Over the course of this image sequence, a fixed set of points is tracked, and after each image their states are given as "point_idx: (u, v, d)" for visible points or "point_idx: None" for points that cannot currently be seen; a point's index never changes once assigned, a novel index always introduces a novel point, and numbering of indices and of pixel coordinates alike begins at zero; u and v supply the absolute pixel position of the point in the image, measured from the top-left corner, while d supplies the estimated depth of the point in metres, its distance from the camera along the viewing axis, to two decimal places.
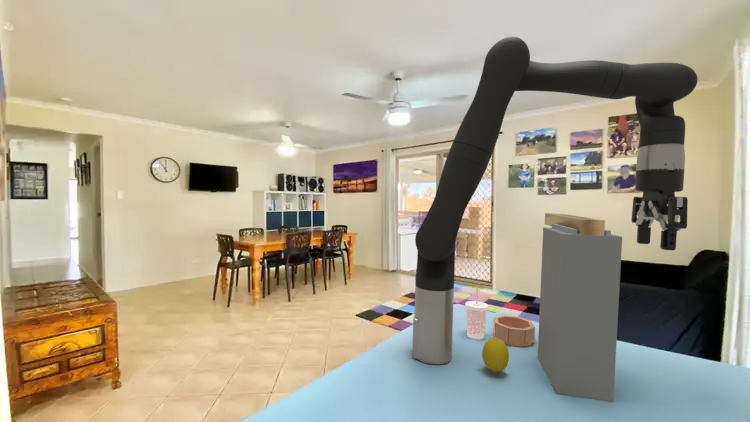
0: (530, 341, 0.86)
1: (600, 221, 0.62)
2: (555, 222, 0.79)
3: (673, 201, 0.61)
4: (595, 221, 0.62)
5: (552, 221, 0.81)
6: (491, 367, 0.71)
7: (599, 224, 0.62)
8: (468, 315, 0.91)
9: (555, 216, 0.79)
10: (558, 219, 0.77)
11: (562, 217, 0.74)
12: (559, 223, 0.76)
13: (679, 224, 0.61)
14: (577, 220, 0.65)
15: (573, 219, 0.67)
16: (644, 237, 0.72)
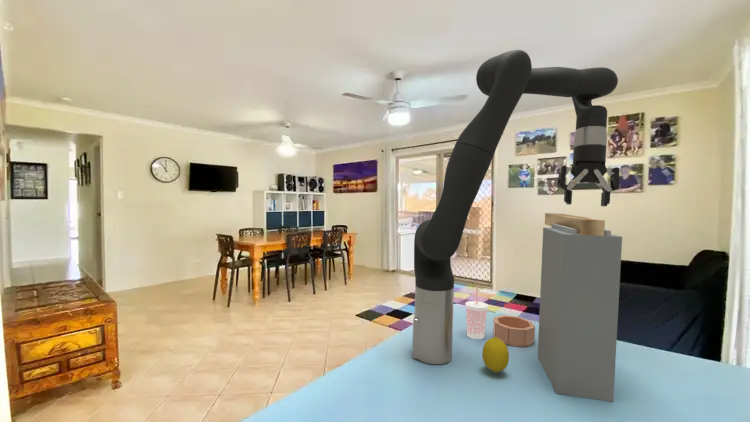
0: (530, 341, 0.86)
1: (600, 221, 0.62)
2: (555, 222, 0.79)
3: (618, 170, 0.86)
4: (595, 221, 0.62)
5: (552, 221, 0.81)
6: (491, 367, 0.71)
7: (599, 224, 0.62)
8: (468, 315, 0.91)
9: (555, 216, 0.79)
10: (558, 219, 0.77)
11: (562, 217, 0.74)
12: (559, 223, 0.76)
13: None
14: (577, 220, 0.65)
15: (573, 219, 0.67)
16: None
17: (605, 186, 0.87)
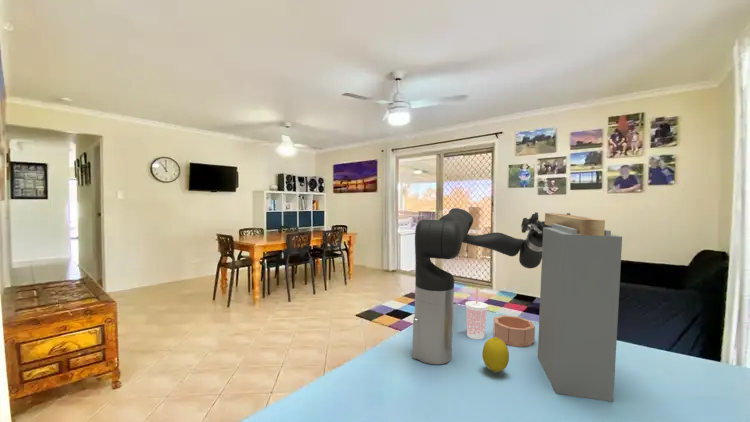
0: (530, 341, 0.86)
1: (600, 221, 0.62)
2: (555, 222, 0.79)
3: None
4: (595, 221, 0.62)
5: (552, 221, 0.81)
6: (491, 367, 0.71)
7: (599, 224, 0.62)
8: (468, 315, 0.91)
9: (555, 216, 0.79)
10: (558, 219, 0.77)
11: (562, 217, 0.74)
12: (559, 223, 0.76)
13: None
14: (577, 220, 0.65)
15: (573, 219, 0.67)
16: None
17: None
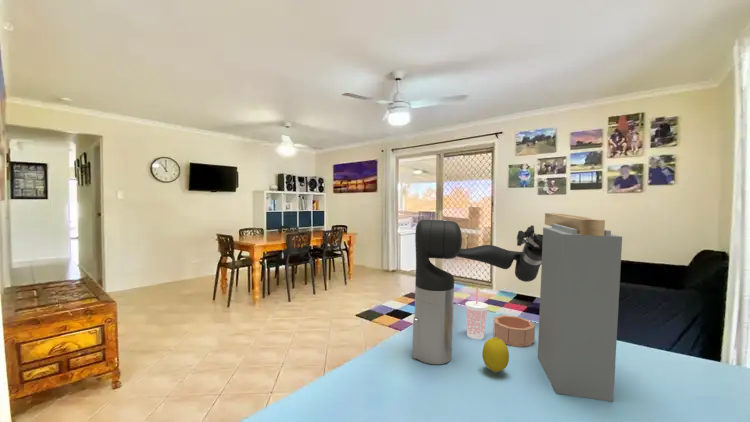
0: (530, 341, 0.86)
1: (600, 221, 0.62)
2: (555, 222, 0.79)
3: None
4: (595, 221, 0.62)
5: (552, 221, 0.81)
6: (491, 367, 0.71)
7: (599, 224, 0.62)
8: (468, 315, 0.91)
9: (555, 216, 0.79)
10: (558, 219, 0.77)
11: (562, 217, 0.74)
12: (559, 223, 0.76)
13: None
14: (577, 220, 0.65)
15: (573, 219, 0.67)
16: None
17: None
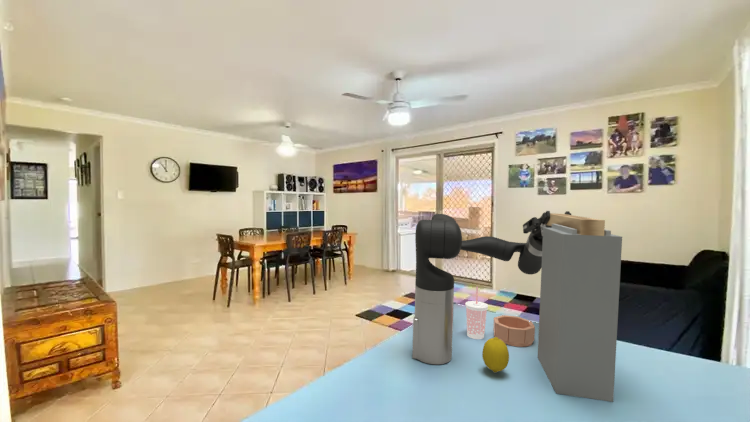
0: (530, 341, 0.86)
1: (600, 221, 0.62)
2: (555, 222, 0.79)
3: None
4: (595, 221, 0.62)
5: (552, 221, 0.81)
6: (491, 367, 0.71)
7: (599, 224, 0.62)
8: (468, 315, 0.91)
9: (555, 216, 0.79)
10: (558, 219, 0.77)
11: (562, 217, 0.74)
12: (559, 223, 0.76)
13: None
14: (577, 220, 0.65)
15: (573, 219, 0.67)
16: None
17: None
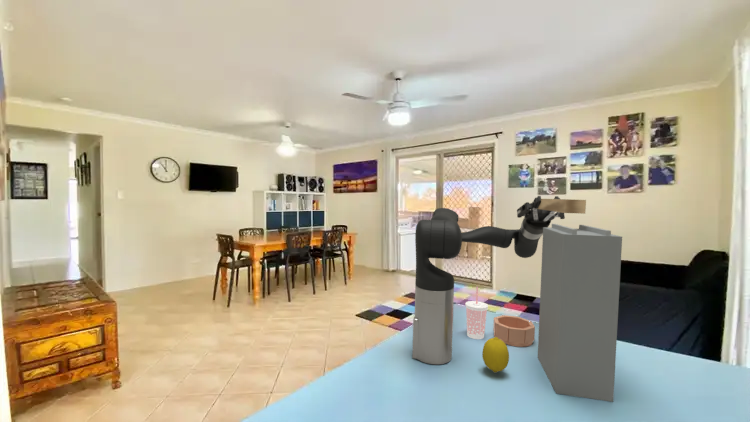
0: (530, 341, 0.86)
1: (582, 201, 0.71)
2: (545, 205, 0.88)
3: None
4: (577, 201, 0.72)
5: (542, 205, 0.91)
6: (491, 367, 0.71)
7: (581, 203, 0.71)
8: (468, 315, 0.91)
9: (545, 200, 0.88)
10: (547, 202, 0.86)
11: (550, 200, 0.83)
12: (548, 205, 0.85)
13: None
14: (562, 200, 0.74)
15: (559, 200, 0.76)
16: None
17: None
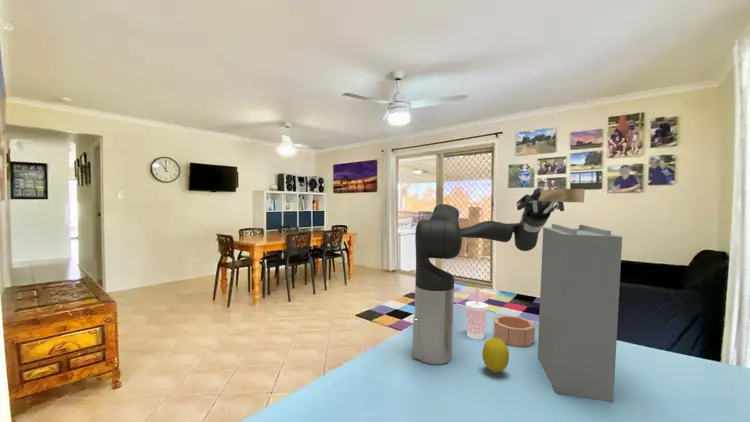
0: (530, 341, 0.86)
1: (580, 190, 0.72)
2: (544, 196, 0.89)
3: None
4: (576, 190, 0.72)
5: (542, 196, 0.91)
6: (491, 367, 0.71)
7: (580, 192, 0.72)
8: (468, 315, 0.91)
9: (544, 191, 0.89)
10: (547, 193, 0.87)
11: (550, 190, 0.84)
12: (547, 196, 0.86)
13: None
14: (561, 190, 0.75)
15: (558, 190, 0.77)
16: None
17: None
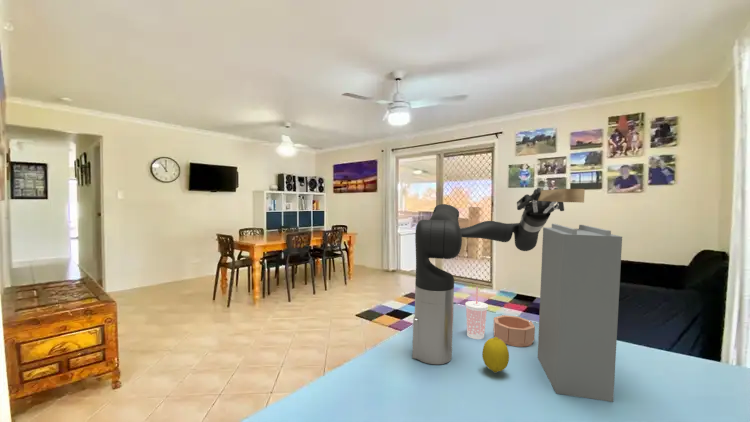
0: (530, 341, 0.86)
1: (580, 190, 0.72)
2: (544, 196, 0.89)
3: None
4: (576, 190, 0.72)
5: (542, 196, 0.91)
6: (491, 367, 0.71)
7: (580, 192, 0.72)
8: (468, 315, 0.91)
9: (544, 191, 0.89)
10: (547, 193, 0.87)
11: (550, 190, 0.84)
12: (547, 196, 0.86)
13: None
14: (561, 190, 0.75)
15: (558, 190, 0.77)
16: None
17: None
